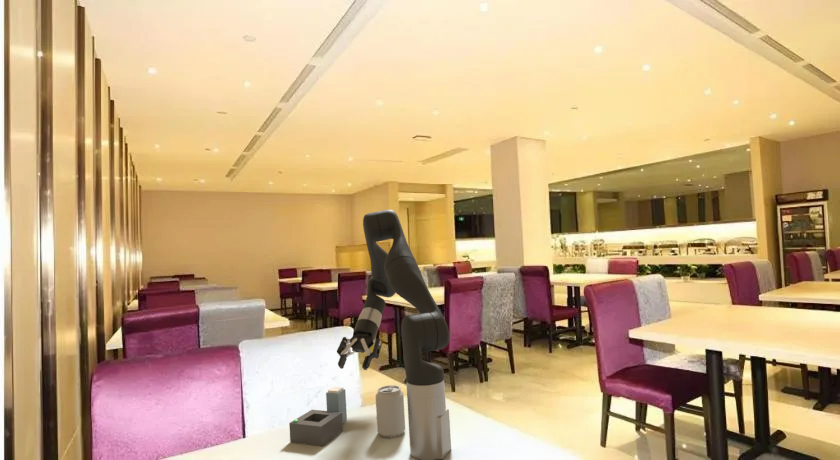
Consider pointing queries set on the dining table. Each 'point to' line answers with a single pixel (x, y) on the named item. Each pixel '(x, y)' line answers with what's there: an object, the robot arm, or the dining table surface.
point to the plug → (337, 401)
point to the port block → (316, 427)
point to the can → (390, 411)
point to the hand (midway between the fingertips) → (352, 368)
